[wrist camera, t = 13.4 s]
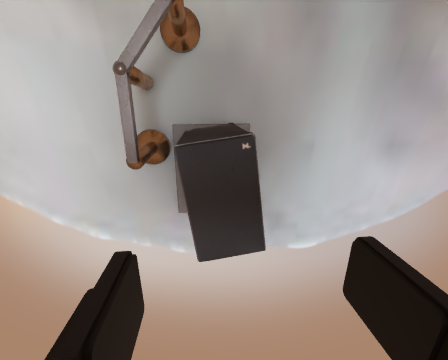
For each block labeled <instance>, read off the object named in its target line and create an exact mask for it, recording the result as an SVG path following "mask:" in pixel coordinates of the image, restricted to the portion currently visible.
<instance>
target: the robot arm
mask: <svg viewBox="0 0 448 360" xmlns="http://www.w3.org/2000/svg"><path fill="white" fill-rule="evenodd" d="M343 293H344V296H345V297H346V299H347V300H348V301H349V303H350V304H351V306H352V307H353V308H354V310H355V311H356V312H357V314H358V315H359V316H360V318H361V319H362V320H363V322H364V323H365V324H366V326H367V327H368V329H369V330H370V331H371V332H372V334H373V335H374V336H375V338H376V339H377V341H378V342H379V343H380V344H381V346H382V347H383V348H384V350H385V351H386V353H387V354H388V355H389V357H390V358H391V359H392V360H448V294H446V293H445V292H444V291H442V290H441V289H440V288H439V287H437V286H436V285H435V284H433V283H432V282H431V281H430V280H428V279H427V278H426V277H424V276H423V275H422V274H420V273H419V272H418V271H417V270H415V269H414V268H413V267H411V266H410V265H409V264H407V263H406V262H405V261H404V260H402V259H401V258H400V257H398V256H397V255H396V254H395V253H393V252H392V251H391V250H389V249H388V248H387V247H385V246H384V245H383V244H382V243H380V242H379V241H378V240H376V239H375V238H374V237H371V236H368V237H358V238H356V240H355V241H354V242H353V243H352V247H351V252H350V257H349V262H348V267H347V271H346V276H345V280H344V286H343ZM143 313H144V300H143V294H142V288H141V281H140V275H139V269H138V262H137V256H136V255H135V254H133V255H132V252H131V251H122V252H115V253H114V254H113V256H112V258H111V260H110V262H109V263H108V265H107V266H106V268H105V270H104V272H103V273H102V275H101V277H100V278H99V280H98V282H97V283H96V285H95V287H94V288H93V289H89V290H88V291H87V293H85V295H84V297H83V298H82V300H81V301H80V303H79V305H78V306H77V308H76V310H75V311H74V313H73V314H72V316H71V318H70V319H69V321H68V322H67V324H66V326H65V327H64V329H63V331H62V332H61V334H60V336H59V337H58V339H57V340H56V342H55V344H54V345H53V347H52V348H51V350H50V352H49V353H48V355H47V357H46V358H45V360H131V357H132V354H133V350H134V346H135V343H136V339H137V336H138V332H139V329H140V325H141V321H142V318H143Z"/></svg>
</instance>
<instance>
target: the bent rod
mask: <svg viewBox="0 0 448 360" xmlns="http://www.w3.org/2000/svg"><path fill="white" fill-rule="evenodd" d="M159 25H160V32H161V35H162V38H163V40H164V42H165V43H166V44H167V46H168V47H169V48H171V49H172V50H174V51H176V52H180V53H184V52H188V51H190V50H192V49H193V48H194V47H195V46H196V44H197V43H198V40H199V36H200V26H199V22H198V20H197V18H196V16H195V15H194V13H193V12H192V11H191V10H189V9H188V8H186V7H184V2H183V0H155V1H154V3H153V4H152V6H151V8H150V9H149V11H148V12H147V14H146V16H145V17H144V19H143V20H142V22H141V24H140V25H139V27H138V29H137V30H136V32H135V33H134V35H133V37H132V38H131V40H130V41H129V43H128V45H127V46H126V48H125V49H124V51H123V53H122V54H121V56H120V57H119V59H118V61H116V62H115V63H114V64H113V71H114V74H115V78H116V85H117V92H118V99H119V106H120V113H121V121H122V128H123V135H124V142H125V149H126V156H127V159H126V163H127V165H128V166H129V167H130V168H132V169H139V168H141V167H142V166H143V165H144V164H145V163H148V164H159V163H161V162H163V161H164V160H165V159H166V158H167V156H168V155H169V152H170V143H169V140H168V138H167V137H166V136H165V135H164V134H163V133H162V132H160V131H157V130H146V131H143V132H141V133H140V134H139V135H138V136H137V132H136V124H135V115H134V107H133V99H132V91H131V84H133V85H135V86H138V87H140V88H143V89H146V90H149V89H151V88H152V86H153V81H152V79H151V78H150V77H149V76H147V75H146V74H144V73H143V72H142V71H140V70H139V69H137V68H136V67H134V64H135V63H136V61H137V60H138V58H139V57H140V55H141V53H142V52H143V50H144V49H145V47H146V46H147V44H148V42H149V41H150V39H151V38H152V36H153V35H154V33H155V32H156V30H157V28H158V27H159Z"/></svg>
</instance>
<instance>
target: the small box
mask: <svg viewBox="0 0 448 360" xmlns="http://www.w3.org/2000/svg"><path fill="white" fill-rule="evenodd" d="M174 151H175V156H176V160H177V165H178V169H179V174H180V179H181V183H182V188H183V193H184V197H185V202H186V206H187V211H188V216H189V221H190V225H191V230H192V235H193V240H194V245H195V249H196V254H197V259H198V261H199V262H203V261H210V260H215V259H221V258H227V257H232V256H238V255H243V254H249V253H254V252H259V251H265V238H264V226H263V216H262V204H261V193H260V184H259V173H258V161H257V151H256V141H255V135H254V134H253V133H252V132H248V131H246V130H244V129H242V128H240V127H239V126H237V125H235V124H234V123H229V124H226V125H218V126H213V127H206V128H196V129H192V130H188V131H185V132H184V133H183V135H182V136H181V138H180V139H179V141H178V142H177V144H176V145H175V146H174Z"/></svg>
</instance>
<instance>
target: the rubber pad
mask: <svg viewBox="0 0 448 360" xmlns="http://www.w3.org/2000/svg"><path fill="white" fill-rule="evenodd" d="M218 125H226V124H195V125H172V128H173V141H174V146H175V145H176V144H177V142H178V141H179V139H180V138H181V136H182V135H183V133H184V132H185V131H188V130H192V129H196V128H206V127H213V126H218ZM235 125H237V126H239V127H240V128H242V129H244V130H246V131H248V132H250V124H235ZM174 155H175V151H174ZM175 168H176V182H177V195H178V209H179V213H187V212H188V211H187V206H186V202H185V197H184V193H183V188H182V183H181V179H180V174H179V169H178V165H177V160H176V156H175Z"/></svg>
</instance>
